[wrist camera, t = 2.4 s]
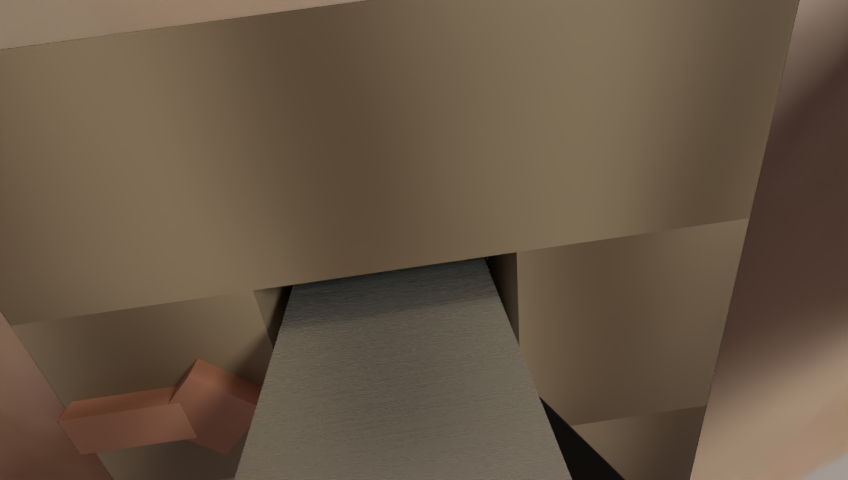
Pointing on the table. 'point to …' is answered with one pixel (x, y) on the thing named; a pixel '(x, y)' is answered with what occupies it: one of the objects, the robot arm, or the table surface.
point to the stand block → (384, 203)
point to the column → (400, 384)
